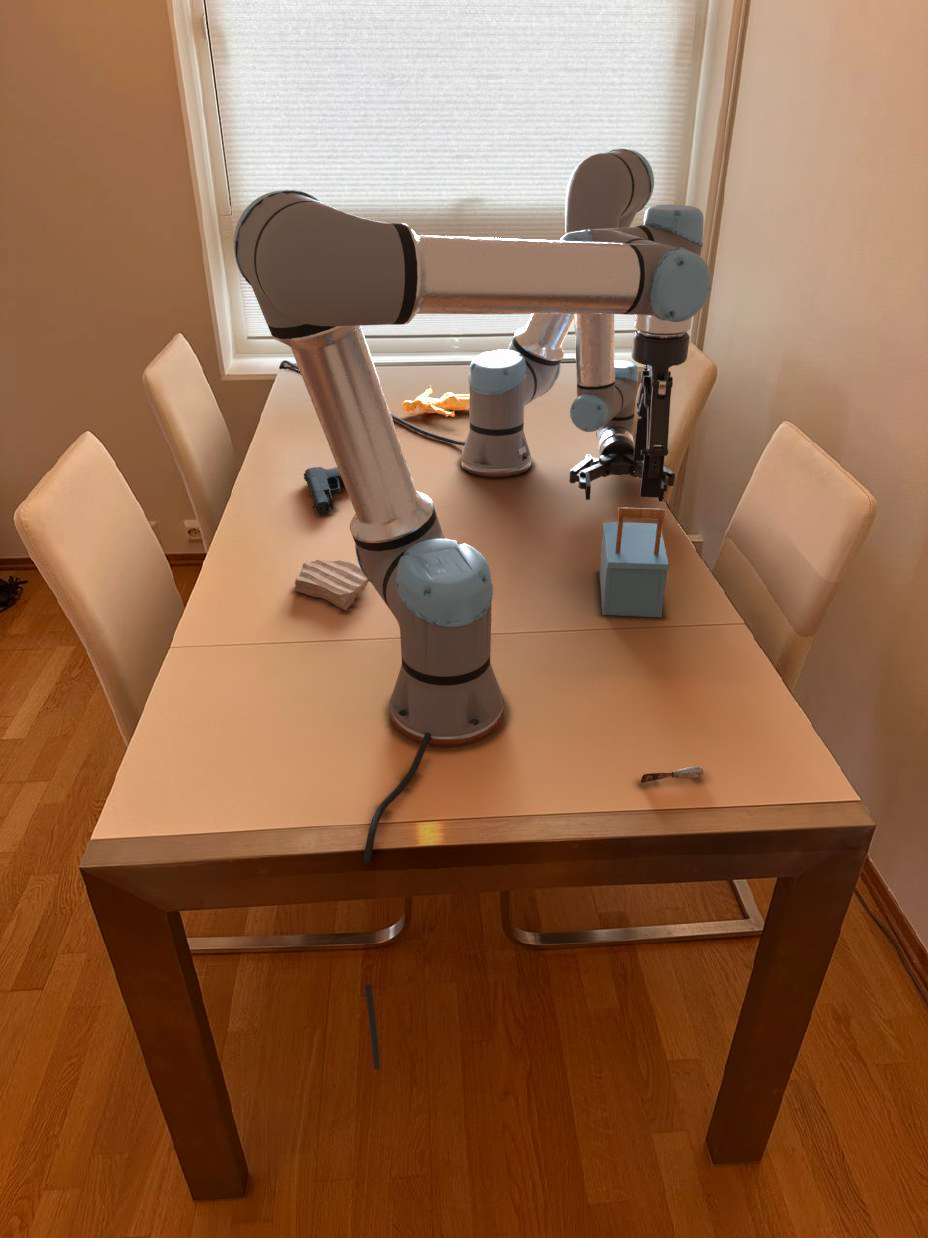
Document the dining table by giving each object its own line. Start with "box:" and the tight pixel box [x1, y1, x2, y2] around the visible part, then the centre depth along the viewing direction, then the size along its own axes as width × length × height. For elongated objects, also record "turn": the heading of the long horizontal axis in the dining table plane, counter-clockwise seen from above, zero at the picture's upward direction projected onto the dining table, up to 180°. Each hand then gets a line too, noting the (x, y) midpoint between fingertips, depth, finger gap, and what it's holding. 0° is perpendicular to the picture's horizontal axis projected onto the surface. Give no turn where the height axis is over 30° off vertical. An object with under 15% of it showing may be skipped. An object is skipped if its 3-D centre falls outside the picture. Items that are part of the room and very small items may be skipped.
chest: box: [599, 527, 668, 618], centre depth 145 cm, size 14×9×9 cm
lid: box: [603, 507, 670, 571], centre depth 140 cm, size 14×9×9 cm, turn 175°
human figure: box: [402, 385, 469, 418], centre depth 225 cm, size 20×20×4 cm
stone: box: [294, 559, 370, 611], centre depth 149 cm, size 13×12×3 cm
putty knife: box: [640, 765, 705, 784], centre depth 109 cm, size 1×8×2 cm, turn 103°
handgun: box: [303, 466, 346, 515], centre depth 181 cm, size 3×18×12 cm
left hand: (645, 477), depth 132 cm, fingers open, 13 cm apart
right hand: (624, 494), depth 167 cm, fingers open, 13 cm apart
